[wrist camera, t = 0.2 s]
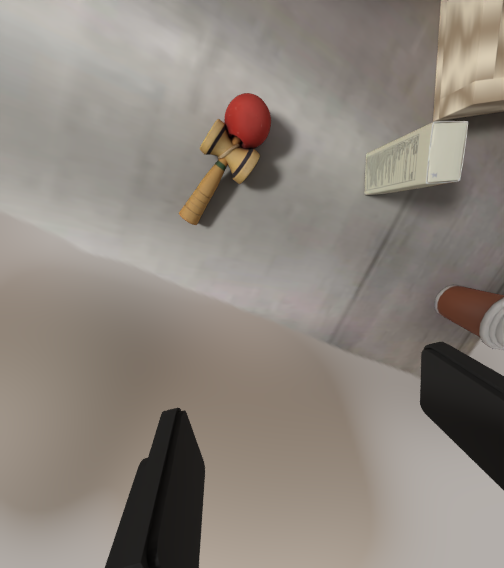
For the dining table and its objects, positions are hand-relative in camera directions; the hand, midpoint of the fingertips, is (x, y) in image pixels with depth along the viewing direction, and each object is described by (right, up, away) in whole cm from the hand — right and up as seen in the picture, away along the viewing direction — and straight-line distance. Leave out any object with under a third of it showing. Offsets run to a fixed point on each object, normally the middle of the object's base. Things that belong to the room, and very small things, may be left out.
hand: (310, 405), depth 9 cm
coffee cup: (+36, +2, +37) cm, 52 cm away
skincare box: (+18, +22, +28) cm, 40 cm away
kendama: (-7, +22, +26) cm, 34 cm away
